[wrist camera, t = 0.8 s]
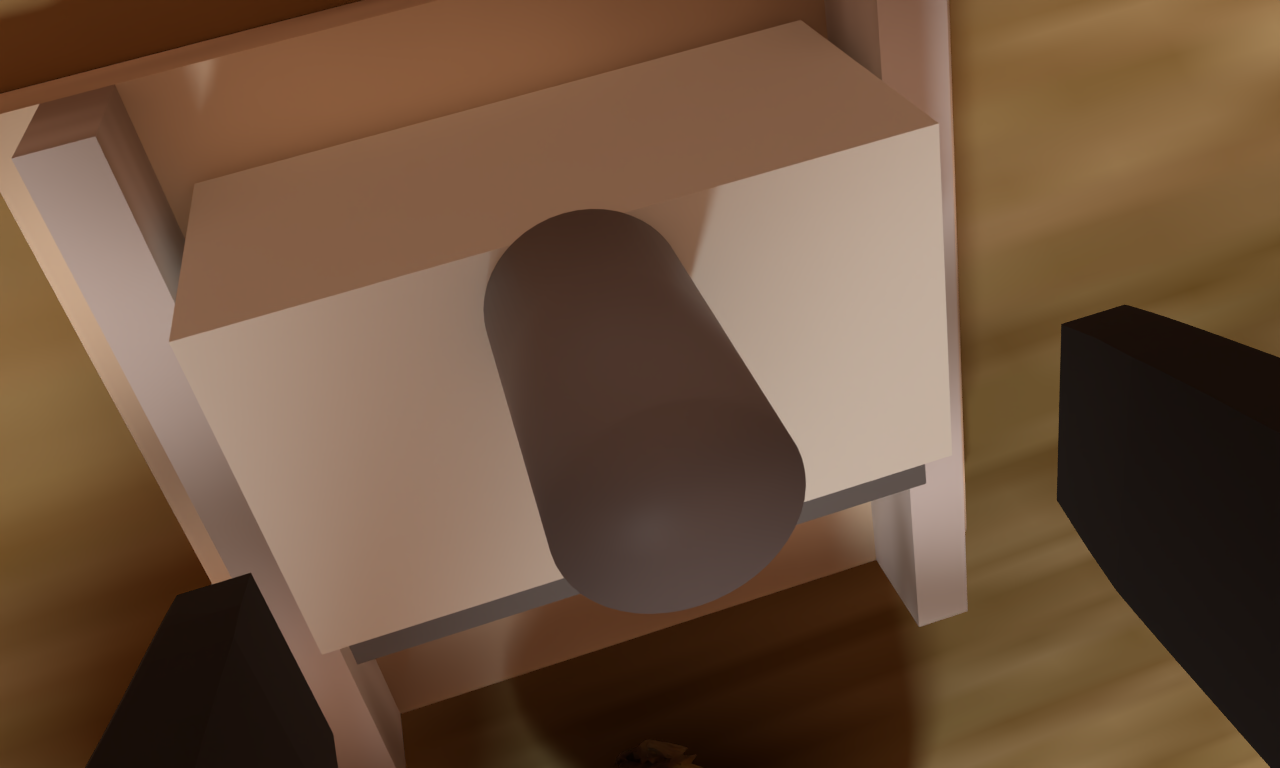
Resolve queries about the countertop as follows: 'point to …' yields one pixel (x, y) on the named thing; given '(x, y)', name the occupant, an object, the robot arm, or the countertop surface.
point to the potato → (656, 756)
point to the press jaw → (575, 338)
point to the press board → (369, 105)
